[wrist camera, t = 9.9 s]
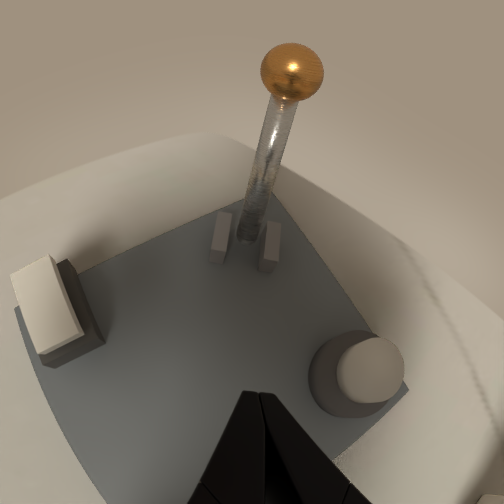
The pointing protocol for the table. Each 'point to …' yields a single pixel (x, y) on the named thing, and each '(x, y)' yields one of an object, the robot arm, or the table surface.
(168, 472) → the switch panel
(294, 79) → the toggle lever
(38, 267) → the rocker switch
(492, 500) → the medicine bottle
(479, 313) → the table surface
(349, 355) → the push button
